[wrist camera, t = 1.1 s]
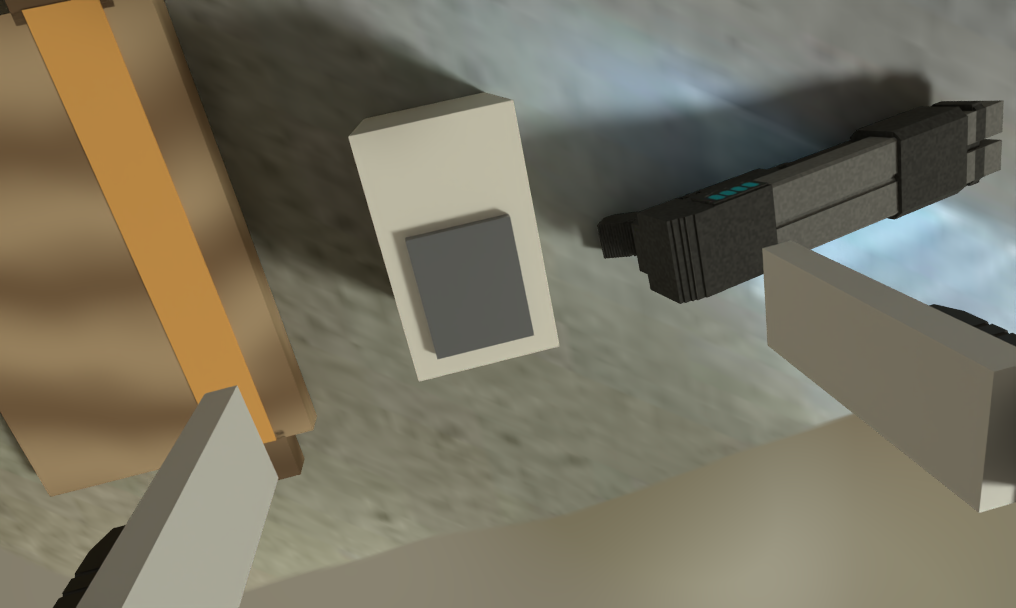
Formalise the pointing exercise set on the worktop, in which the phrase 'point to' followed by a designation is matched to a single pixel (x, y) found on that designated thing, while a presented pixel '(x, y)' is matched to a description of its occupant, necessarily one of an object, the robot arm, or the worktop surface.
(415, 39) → the worktop surface
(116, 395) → the subfloor panel
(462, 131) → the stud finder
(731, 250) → the gun
